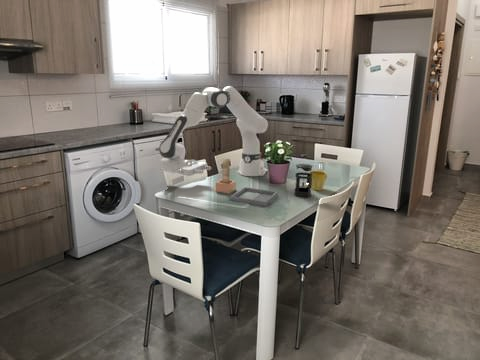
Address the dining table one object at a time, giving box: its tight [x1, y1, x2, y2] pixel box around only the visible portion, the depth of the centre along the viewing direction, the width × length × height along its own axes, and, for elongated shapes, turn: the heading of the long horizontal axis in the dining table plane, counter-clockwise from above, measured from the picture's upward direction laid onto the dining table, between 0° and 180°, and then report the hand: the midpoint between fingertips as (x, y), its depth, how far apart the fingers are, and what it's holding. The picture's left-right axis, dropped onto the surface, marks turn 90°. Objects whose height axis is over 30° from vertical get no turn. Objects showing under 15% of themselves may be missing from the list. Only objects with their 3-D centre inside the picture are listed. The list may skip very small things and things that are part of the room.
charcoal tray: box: [229, 186, 279, 207], centre depth 213 cm, size 20×20×2 cm
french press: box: [293, 153, 314, 199], centre depth 217 cm, size 12×9×23 cm
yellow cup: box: [308, 170, 328, 191], centre depth 232 cm, size 10×10×10 cm
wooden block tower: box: [221, 158, 231, 184], centre depth 221 cm, size 4×4×18 cm
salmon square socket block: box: [215, 178, 237, 194], centre depth 223 cm, size 8×8×6 cm
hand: (206, 170), depth 226 cm, fingers open, 8 cm apart
